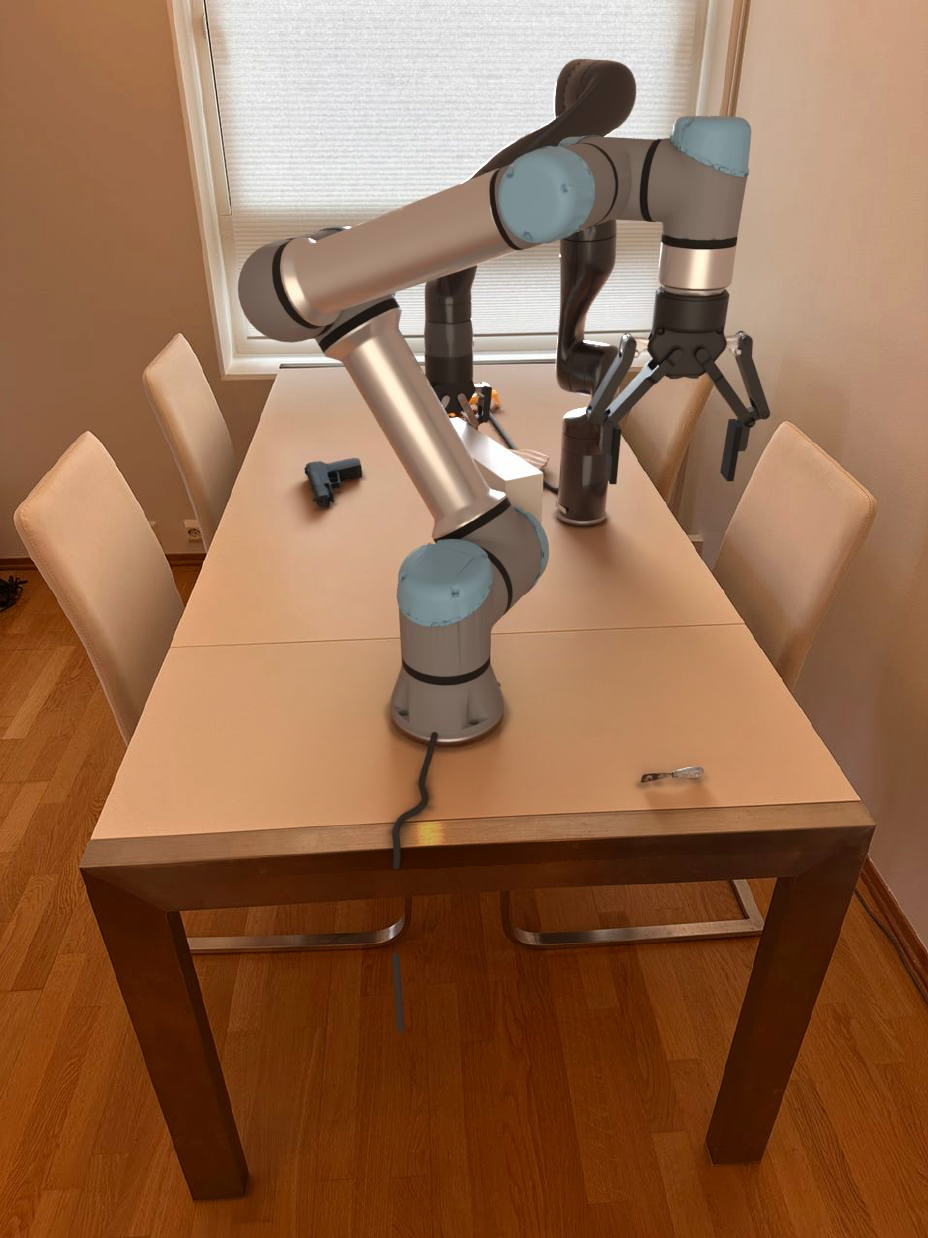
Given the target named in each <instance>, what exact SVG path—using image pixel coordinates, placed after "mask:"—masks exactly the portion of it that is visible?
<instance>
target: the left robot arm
mask: <svg viewBox="0 0 928 1238" xmlns="http://www.w3.org/2000/svg"><path fill="white" fill-rule="evenodd" d="M751 140H752V127H751V124H750V123H749V121H748V120H747V119H745V118H744V117H739V116H730V115H729V116H728V115H709V116H708V115H706V116H705V115H687V116H680V117H678V118H677V119H676V120H675V121H674V122H673V125H672V131H671V133H670V134H669V137H666V138H656V139H653V138H652V139H651V138H634V137H619V136H618V137H617V136H616V137H614V136H605V137H600V136H599V135H590V136H582V137H568V138H565V139H563V140H562V141H561V142H560V143H559V144H558V147H553V146H547V147H543V148H540V149H536V150H534V151H531V152H529V153H526V154H525V155H523V156H521V157H519V158H518V159H516V160H515V161H514V162H513V163H511V164H509V165H507V166H505V167H503V168H501V169H496V170H493V171H491V172H488V173H486V174H483V175H481V176H478V177H476V178H473V179H471V180H468V179H467V180H468V181H466V180H465V181H466V182H464V181H463V182H460V183H458V184H456V185H453V186H450V187H448V188H446V189H443V190H441V191H438V192H436V193H433V194H431V195H428V196H425V197H423V198H421V199H418V200H416V201H414V202H411V203H408V204H406V205H403V206H401V207H398V208H395V209H393V210H391V211H388V212H386V213H383V214H381V215H378V216H375V217H373V218H370V219H368V220H365V221H363V222H360V223H358V224H355V225H353V226H331V227H324V228H320V229H319V230H318V231H314V232H311V233H307V234H302V235H297V236H293V237H290V238H286V239H280V240H275V241H272V242H269V243H268V242H267V243H266V244H265V245H262V246H260V247H259V248H257V249H256V250H255V251H254V252H252V253H251V254H250V255H249V256H248V258H247V259H246V260H245V262H244V263H243V265H242V268H241V270H240V272H239V276H238V281H237V296H238V300H239V303H240V304H239V305H240V308H241V310H242V313H243V314H244V316H245V318H246V319H247V321H248V322H249V323H250V325H252V327H253V328H254V329H255V330H256V331H258V332H259V333H260V334H262V335H263V336H265V337H266V338H269V339H271V340H273V341H276V342H281V343H293V344H294V343H298V342H299V343H300V342H304V341H308V340H311V339H314V340H315V342H316V343H317V345H318V346H319V348H320V350H321V351H322V354H323V355H324V356H325V358H328V359H333V360H335V361H339V362H340V363H342V364H343V366H344V368H345V370H346V371H347V373H348V375H349V377H350V378H351V380H352V381H353V384H354V385H355V386H356V388H357V390H358V391H359V393H360V395H361V397H362V399H363V400H364V402H365V404H366V405H367V407H368V409H369V410H370V412H371V414H372V416H373V418H374V419H375V420H376V423H377V424H378V426H379V428H380V429H381V431H382V433H383V434H384V436H385V438H386V440H387V441H388V442H389V444H390V446H391V448H392V450H393V452H394V453H395V455H396V456H397V458H398V460H399V461H400V463H401V465H402V467H403V468H404V470H405V472H406V474H407V475H408V478H410V481H411V482H412V484H413V485H414V487H415V489H416V491H417V493H418V494H419V496H420V497H421V499H422V501H423V503H424V505H425V506H426V508H427V509H428V511H429V513H430V515H431V517H432V518H433V519H434V523H433V524H434V525H433V528H432V533H431V538H432V540H433V542H434V543H431V542H427V543H425V544H423V545H421V546H418V547H416V548H415V549H413V551H411V552H410V553H408V555H407V556H406V557H405V558H404V559H403V561H402V563H401V564H400V567H399V570H398V577H397V587H396V601H397V606H398V616H399V617H398V618H399V633H400V634H399V637H400V639H399V640H400V655H401V667H400V669H399V672H398V675H397V678H396V681H395V684H394V687H393V690H392V693H391V696H390V704H389V705H390V718H391V721H392V724H393V725H394V727H395V728H396V729H397V731H398V732H399V733H400V734H402V735H403V736H404V737H406V738H407V739H409V740H411V741H413V742H415V743H417V744H420V745H421V744H422V745H425V746H427V750H426V753H425V756H424V760H423V762H422V766H421V769H420V773H419V778H418V790H419V793H420V797H421V800H420V802H419V804H417V805H416V806H415V807H413V808H411V809H409V810H407V811H405V812H404V813H402V814H401V815H399V816H398V818H397V819H396V820H395V822H394V823H393V826H392V829H391V830H392V831H391V837H392V846H393V847H392V848H393V851H392V853H393V855H392V868H393V869H394V870H398V869H399V868H401V857H402V855H401V854H402V847H401V839H400V831H401V828H402V826H403V824H404V823H405V822H406V821H408V820H409V819H411V818H412V817H415V816H417V815H418V814H420V813H421V812H422V811H424V810H425V808H426V807H427V805H428V804H429V794H428V790H427V787H426V781H427V776H428V772H429V768H430V766H431V762H432V760H433V755H434V752H435V748H436V747H437V748H454V747H455V748H457V747H463V746H467V745H471V744H473V743H476V742H480V741H481V740H483V739H485V738H486V737H488V736H489V735H491V734H492V733H493V732H494V731H495V730H496V729H498V727H499V726H500V724H501V722H502V720H503V717H504V697H503V693H502V690H501V688H502V685H501V683H500V682H499V681H498V679H497V677H496V674H495V672H494V668H493V666H492V664H491V654H492V653H491V651H492V649H491V648H492V647H491V645H492V630H493V627H494V626H495V624H497V623H498V622H499V621H500V620H501V619H502V618H503V617H504V616H505V615H506V614H507V613H508V612H509V611H510V610H511V609H512V608H513V607H514V606H515V605H516V604H517V602H518V601H520V600H521V599H522V598H523V597H524V596H526V595H527V594H529V593H530V592H531V590H533V589H534V588H535V586H536V585H537V583H538V582H539V579H540V578H541V577H542V576H543V574H544V572H545V570H546V568H547V567H548V562H549V559H550V545H549V540H548V536H547V534H546V531H545V528H543V527H544V526H542V523H541V524H540V523H539V521H538V520H537V519H536V518H535V517H534V516H533V515H532V514H531V513H529V512H525V511H523V509H522V508H519V507H516V506H512V505H511V503H510V501H509V499H508V497H507V496H506V494H505V493H502V492H498V491H495V490H492V489H490V488H489V487H488V485H487V483H486V482H485V480H484V478H483V476H482V475H481V473H480V471H479V469H478V468H477V466H476V464H475V462H474V460H473V459H472V457H471V455H470V453H469V452H468V450H467V448H466V446H465V445H464V443H463V441H462V439H461V438H460V436H459V434H458V432H457V430H456V429H455V427H454V425H453V423H452V422H451V420H450V419H451V417H449V416H450V415H449V416H448V415H447V413H446V411H445V409H444V407H443V406H442V404H441V402H440V400H439V399H438V397H437V395H436V393H435V392H434V390H433V388H432V386H431V385H430V383H429V381H428V379H427V377H426V376H425V371H423V368H422V367H421V365H420V363H419V362H418V360H417V358H416V356H415V354H414V353H413V351H412V349H411V347H410V346H409V344H408V342H407V340H406V339H405V337H404V335H403V333H402V332H401V330H400V321H401V316H402V312H403V310H402V308H401V306H400V304H399V302H398V301H397V299H396V294H397V293H398V292H401V291H404V290H407V289H410V288H412V287H416V286H420V285H422V284H426V282H428V281H431V280H434V279H437V278H440V277H443V276H446V275H449V274H452V273H455V272H458V271H461V270H464V269H467V268H470V267H473V266H476V265H477V266H479V265H482V264H484V263H488V262H490V261H494V260H497V259H500V258H503V257H505V256H508V255H512V254H514V253H517V252H518V253H519V252H521V251H524V250H528V249H531V248H535V247H537V246H541V245H543V244H552V243H555V242H558V241H560V239H563V238H566V237H568V236H570V235H572V234H573V233H576V232H578V231H581V230H583V229H586V228H590V227H593V226H595V225H598V224H601V223H604V222H606V221H609V220H616V221H632V222H633V221H636V222H647V223H661V224H662V225H661V228H662V232H661V235H660V236H661V237H660V242H661V243H660V252H659V258H658V259H659V260H658V269H657V277H656V281H657V283H658V284H659V285H661V286H659V287H658V288H657V289H656V290H655V293H654V304H653V314H652V322H651V330H650V333H649V335H648V336H647V337H642V336H635V335H634V336H633V335H632V333H629V332H625V333H623V334H622V335H621V337H620V340H619V346H618V349H619V350H618V354H617V356H616V358H615V359H614V361H613V363H612V365H611V366H610V368H609V370H608V372H607V373H606V375H605V377H604V379H603V380H602V382H601V384H600V386H599V387H598V389H597V391H596V393H595V394H594V396H593V398H592V400H591V399H590V400H589V403H588V405H587V406H586V407H587V408H586V411H585V412H586V415H587V417H588V419H589V421H590V422H591V423H593V424H595V423H596V424H599V425H601V432H600V444H599V447H600V449H601V452H602V454H603V455H607V465H606V477H607V479H608V484H609V485H617V484H618V473H619V461H620V453H621V439H622V427H621V426H620V425H619V422H620V421H621V420H622V419H623V418H624V417H625V416H626V415H627V414H628V413H629V412H630V411H631V409H632V408H634V406H635V405H636V404H637V403H638V402H639V401H640V400H641V399H642V398H643V397H644V396H646V395H645V394H647V393H648V392H649V390H650V389H652V388H653V386H654V385H657V384H658V383H660V382H661V380H662V379H663V378H665V377H666V378H668V379H669V380H678V379H683V378H685V379H686V378H687V379H690V380H697V379H699V377H700V378H701V377H702V376H703V375H706V377H707V378H708V379H709V380H710V381H711V383H712V384H713V385H714V387H715V388H716V390H717V391H718V392H719V394H720V396H721V397H722V399H723V400H724V401H725V403H726V404H727V405H728V407H729V408H730V410H731V412H732V413H733V414H734V415H735V417H736V418H728V420H727V427H726V434H725V438H724V446H723V451H722V459H721V465H720V471H719V473H720V474H721V476H722V477H723V478H724V480H725V481H726V482H734V481H735V475H736V469H737V462H738V457H739V452H746V450H747V448H748V444H749V438H750V433H751V432H750V431H751V429H752V428H754V426H755V425H756V423H757V421H759V420H760V421H761V420H763V421H764V420H768V419H769V417H771V410H770V408H769V404H768V401H767V399H766V395H765V392H764V389H763V386H762V383H761V380H760V377H759V374H758V370H757V367H756V365H755V361H754V358H753V346H754V339H753V337H752V336H751V335H749V334H748V333H746V332H745V331H744V330H738V331H737V332H736V333H735V334H731V335H725V328H726V322H727V315H728V308H729V302H730V293H729V291H728V290H727V288H729V286H731V285H732V283H733V274H734V269H735V268H734V267H735V259H736V252H737V244H738V238H739V237H738V236H739V235H738V234H739V229H740V224H741V217H742V211H743V204H744V198H745V193H746V187H747V182H748V176H749V175H750V168H749V163H750V153H751V152H750V151H751ZM726 349H728V352H729V353H730V354H731V355H732V356H734V359H735V361H736V365H737V367H738V371H739V373H740V377H741V380H742V381H743V382H742V383H743V385H744V389H745V391H746V394H747V397H748V401H749V403H750V406H749V407H746V406H745V404H744V402H743V401H742V399H741V398H740V396H739V395H738V394H737V393H736V391H735V390H734V389H733V387H732V386H731V384H730V383H729V381H728V380H727V378H726V376H724V373H723V372H722V371H721V370H720V367H718V365H717V364H716V362H717V360H718V359H719V357H721V355H722V354H723V353H724V352H725V350H726ZM643 351H647V352H648V354H649V355H650V357H651V358H649V360H647V361H646V363H645V364H644V365H643V366H642V368H641V371H639V373H638V374H637V375H636V376H635V377H634V378H633V379H632V380H631V382H630V383H628V385H627V386H626V387H625V388H624V389H623V390H622V391H621V393H619V394H618V397H617V398H616V399H615V400H614V401H613V402H612V403H611V404H610V405H609V403H610V401H611V399H612V398H613V396H614V394H615V393H616V391H617V389H618V387H619V388H620V386H621V384H622V383H623V380H624V379H625V377H626V375H627V374H628V372H629V370H630V369H631V367H632V364H633V362H634V359H637V358H639V357H640V355H641V354H642V352H643ZM608 405H609V406H608ZM607 406H608V408H607ZM606 408H607V409H606ZM391 959H392V975H393V976H392V977H393V986H394V988H393V989H394V1000H395V1001H394V1002H395V1014H396V1027H397V1028H396V1030H397V1033H398V1034H402V1033H404V1032H405V1022H404V1021H405V1020H404V1006H403V1005H404V1004H403V991H402V977H401V964H400V953H397V952H391Z"/></svg>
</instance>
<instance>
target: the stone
mask: <svg viewBox="0 0 928 1238" xmlns="http://www.w3.org/2000/svg"><path fill="white" fill-rule="evenodd" d="M506 449H507V450H509V451H510V452H512V453H514V454H515V455H517V456H518V457H520V458H521V459H523V460H524V461H526V462H527V463H529V464H531V465H532V466H534V467H535V468H537V469H538V470H540V471H541V472H543V471H544V469H545V468H547V466H548V463H549V461H550V456H549V455H547V454H545V453H543V451H542V450H540V451H537V450H533V449H525V448H524V449H523V448H521V449H517V450H512V449H511V448H506Z"/></svg>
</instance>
